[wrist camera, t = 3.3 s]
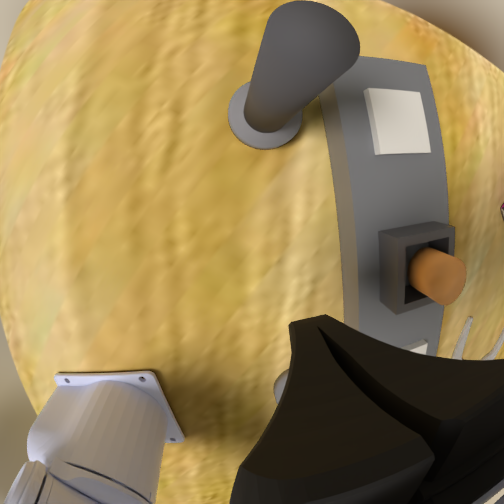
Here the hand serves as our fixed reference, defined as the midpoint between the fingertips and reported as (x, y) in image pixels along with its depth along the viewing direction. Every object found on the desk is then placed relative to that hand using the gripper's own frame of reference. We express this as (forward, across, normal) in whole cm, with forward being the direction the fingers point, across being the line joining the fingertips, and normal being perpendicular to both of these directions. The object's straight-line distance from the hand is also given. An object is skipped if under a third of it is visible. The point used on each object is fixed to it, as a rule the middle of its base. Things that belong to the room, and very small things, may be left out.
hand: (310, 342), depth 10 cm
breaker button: (+4, -8, 0) cm, 9 cm away
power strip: (+8, -8, 0) cm, 11 cm away
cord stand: (+8, -1, -9) cm, 12 cm away
